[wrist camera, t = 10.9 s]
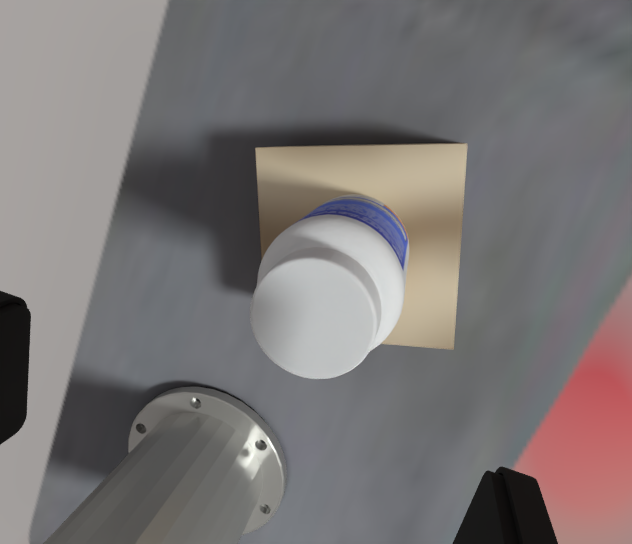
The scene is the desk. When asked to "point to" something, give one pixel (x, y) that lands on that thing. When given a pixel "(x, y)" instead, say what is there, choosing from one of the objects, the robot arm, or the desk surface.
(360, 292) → the pill bottle
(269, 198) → the oak block
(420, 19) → the desk surface
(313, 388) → the desk surface
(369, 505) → the desk surface
